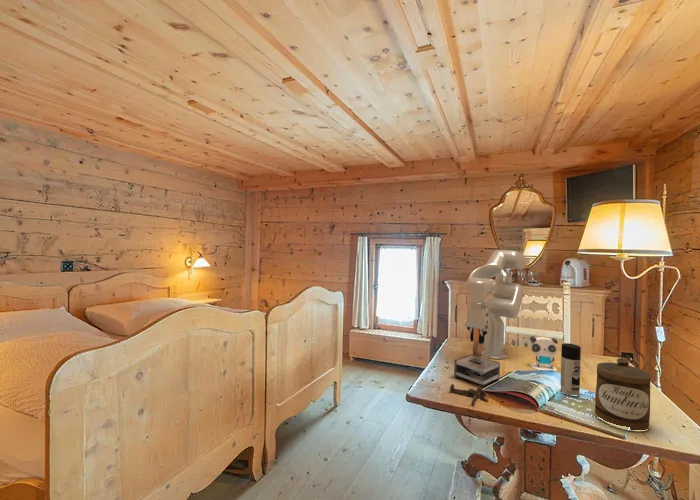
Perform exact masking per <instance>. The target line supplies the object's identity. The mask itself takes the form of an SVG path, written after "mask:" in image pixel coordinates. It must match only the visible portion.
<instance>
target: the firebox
mask: <svg viewBox="0 0 700 500" xmlns="http://www.w3.org/2000/svg"><path fill="white" fill-rule="evenodd" d="M453 371H454V372H453V378H454V379H458V378H462V379H466V380H468V381H471V382H473V383H475V384H476V383H477V384H479V385H481V386H485V385H486V384H489V383H490V382H493V381H496V380H499V379H501V378H500V377H501V376H500V375H501V374H500V372H501V362H500V361H495V360H492V359H490V358H489V359H488V358H487V357H482V356H481V357H479V356H476V355H473V353H472V354H468V355H466V356H463V357H459V358H457V359H454V366H453ZM499 381H500V380H499Z"/></svg>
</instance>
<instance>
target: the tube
mask: <svg viewBox="0 0 700 500" xmlns="http://www.w3.org/2000/svg"><path fill="white" fill-rule="evenodd" d="M479 336H481V334H480V329H477V328H473V341H472V355H476V356H479V357H482V354H481V351H482V345H483V343H482V344H480V343H479Z"/></svg>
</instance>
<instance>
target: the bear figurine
mask: <svg viewBox="0 0 700 500" xmlns="http://www.w3.org/2000/svg"><path fill="white" fill-rule="evenodd" d="M481 387H482V384H479V385H477V388H476V390H475V389H473V388H469V389H468V390H467V389H459V388H455V385H454V384H453V383H451V385H450V386H449V392H450V394H457V395H465V396H469V397H472V400H471V404H472V405H474V404H475V403H476V400H477V399H478V398H480V399H481V400H484V401H485V400H489V396H490V395H489V394H488V393H487V392H486V391H485V389H483V388H481Z"/></svg>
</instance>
